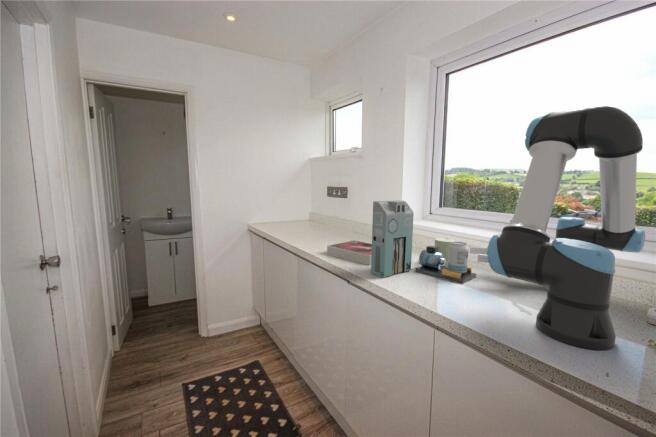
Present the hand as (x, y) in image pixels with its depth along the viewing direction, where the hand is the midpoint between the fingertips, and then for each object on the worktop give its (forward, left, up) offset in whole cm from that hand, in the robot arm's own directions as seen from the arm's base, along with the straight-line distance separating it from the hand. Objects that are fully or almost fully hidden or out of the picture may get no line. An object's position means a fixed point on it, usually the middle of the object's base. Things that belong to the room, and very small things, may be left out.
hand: (473, 253), depth 113 cm
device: (-18, +26, -10) cm, 33 cm away
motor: (-3, +10, -10) cm, 14 cm away
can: (+12, +18, -10) cm, 23 cm away
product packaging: (-7, +53, -11) cm, 54 cm away
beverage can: (-3, +5, -8) cm, 10 cm away
